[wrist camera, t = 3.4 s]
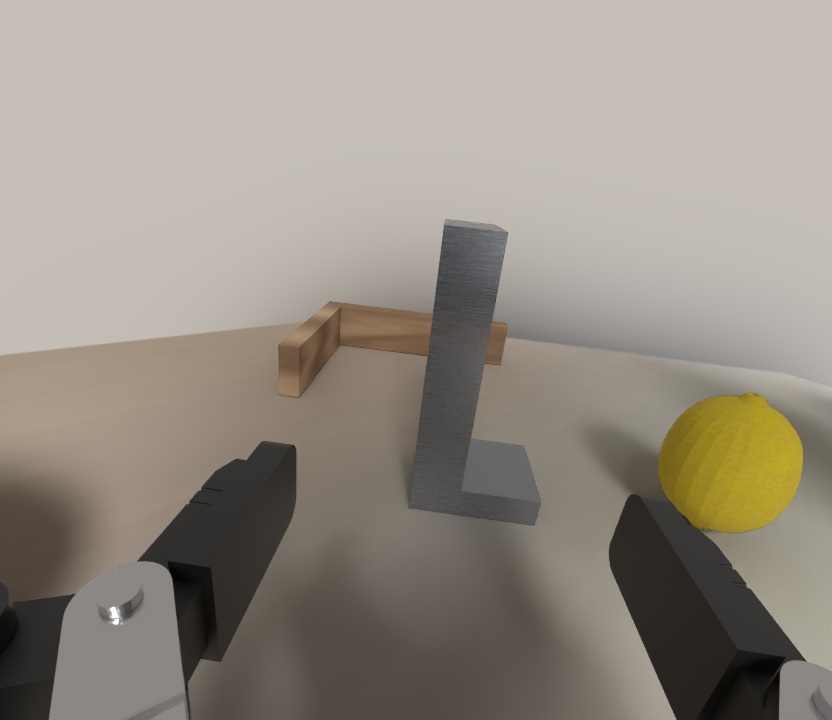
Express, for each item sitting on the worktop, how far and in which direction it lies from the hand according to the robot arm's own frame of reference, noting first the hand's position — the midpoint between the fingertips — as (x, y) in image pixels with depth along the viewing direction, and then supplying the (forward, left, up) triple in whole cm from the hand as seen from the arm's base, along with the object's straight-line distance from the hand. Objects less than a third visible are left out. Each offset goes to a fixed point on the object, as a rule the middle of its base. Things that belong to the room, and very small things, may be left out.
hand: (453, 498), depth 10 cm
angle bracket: (-5, -10, -8) cm, 14 cm away
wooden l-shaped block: (-4, -25, -8) cm, 27 cm away
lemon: (-17, -6, -8) cm, 20 cm away
